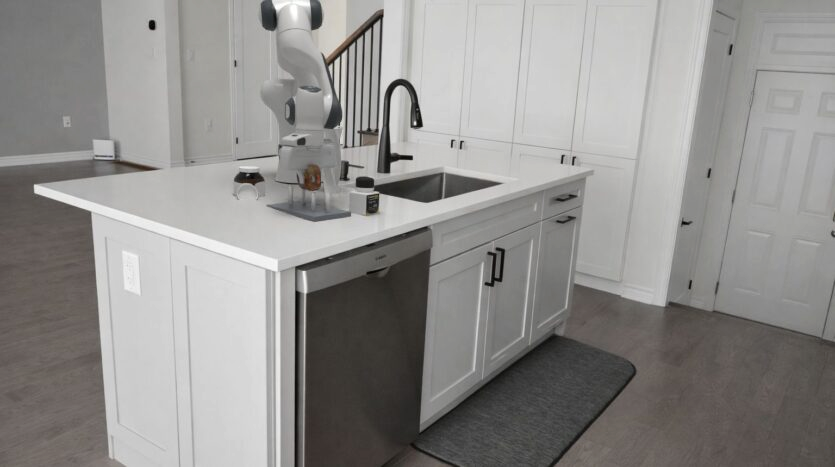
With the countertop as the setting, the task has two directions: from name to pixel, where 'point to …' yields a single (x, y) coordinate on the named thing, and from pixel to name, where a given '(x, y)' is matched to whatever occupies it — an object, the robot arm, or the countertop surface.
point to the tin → (311, 178)
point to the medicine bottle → (364, 197)
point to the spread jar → (249, 183)
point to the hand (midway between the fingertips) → (308, 183)
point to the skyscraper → (333, 174)
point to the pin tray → (310, 208)
